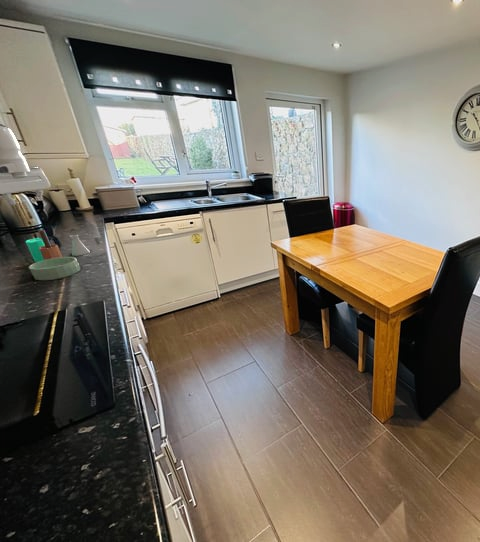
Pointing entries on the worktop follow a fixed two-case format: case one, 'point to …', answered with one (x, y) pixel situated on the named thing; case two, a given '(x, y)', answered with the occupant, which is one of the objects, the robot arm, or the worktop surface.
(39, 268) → the mixing bowl
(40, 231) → the stirring stick
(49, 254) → the utensil pot
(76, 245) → the flask
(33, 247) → the candle
